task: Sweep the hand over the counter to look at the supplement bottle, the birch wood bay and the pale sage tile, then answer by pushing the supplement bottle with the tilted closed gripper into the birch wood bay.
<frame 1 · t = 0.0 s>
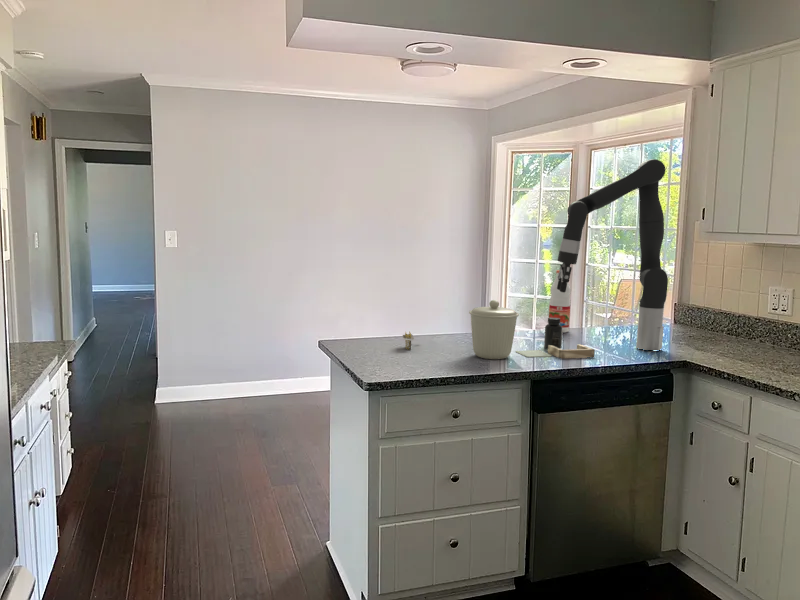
hand: (560, 290, 269), 22 cm above the worktop, tool pointing down, fingers open, 8 cm apart
yellow figurine: (407, 349, 257), on the worktop
fruit juice: (558, 331, 306), on the worktop
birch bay: (568, 354, 254), on the worktop
supplement bottle: (552, 348, 266), on the worktop
canister: (491, 357, 245), on the worktop
sage tile: (533, 354, 252), on the worktop
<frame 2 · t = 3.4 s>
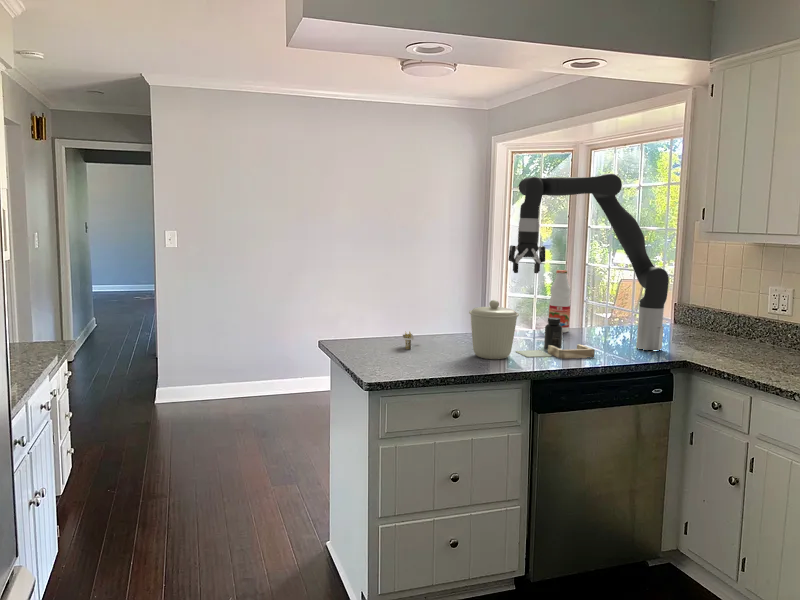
hand: (526, 273, 254), 30 cm above the worktop, tool pointing down, fingers open, 8 cm apart
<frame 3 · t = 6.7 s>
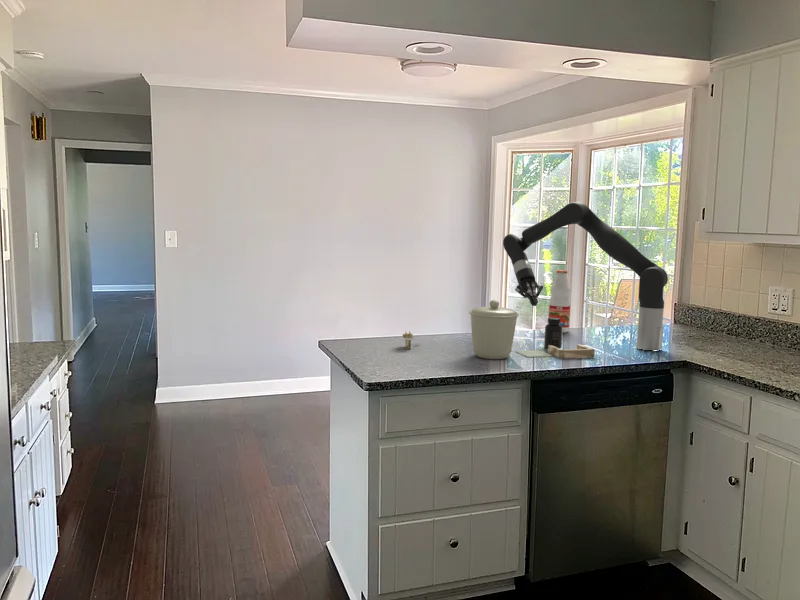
hand: (535, 304, 279), 15 cm above the worktop, tool tilted 45°, fingers closed
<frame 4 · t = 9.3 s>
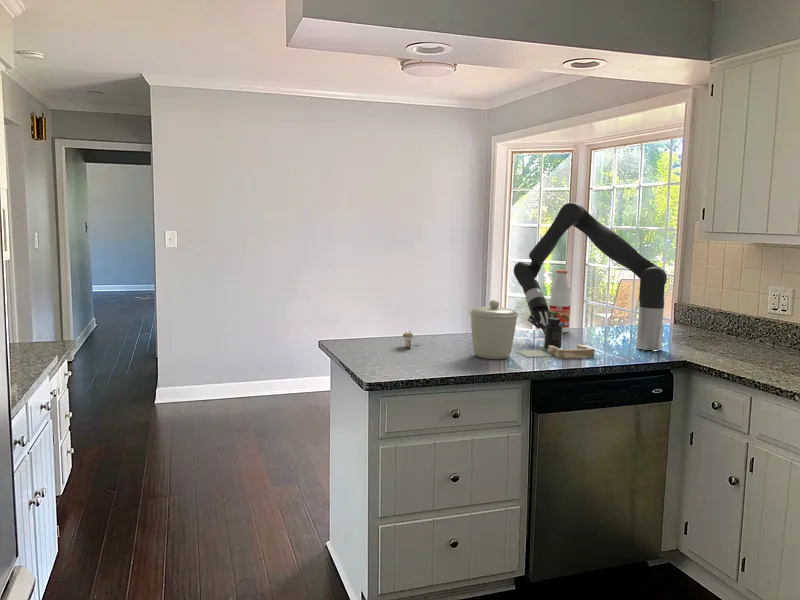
hand: (548, 335, 269), 4 cm above the worktop, tool tilted 45°, fingers closed
supplement bottle: (552, 348, 266), on the worktop, touching gripper
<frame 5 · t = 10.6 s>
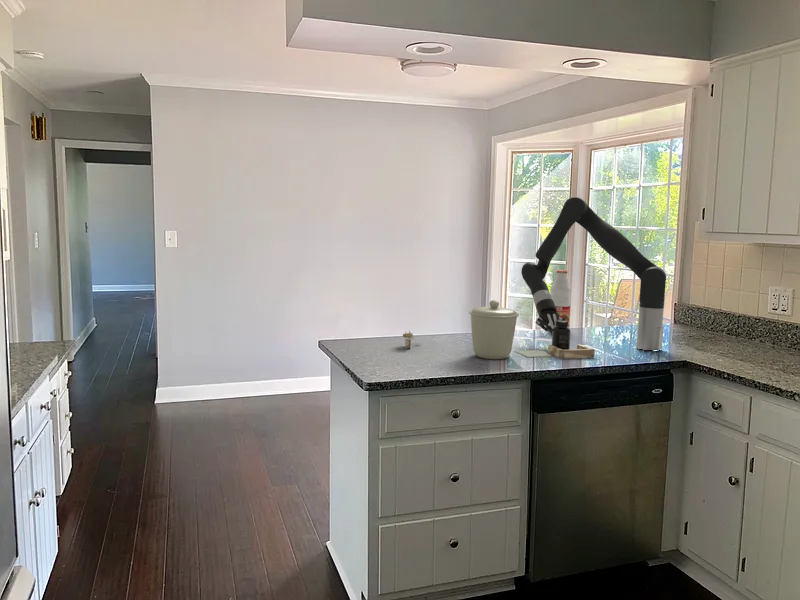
hand: (557, 338, 262), 4 cm above the worktop, tool tilted 45°, fingers closed
supplement bottle: (560, 351, 259), on the worktop, touching gripper
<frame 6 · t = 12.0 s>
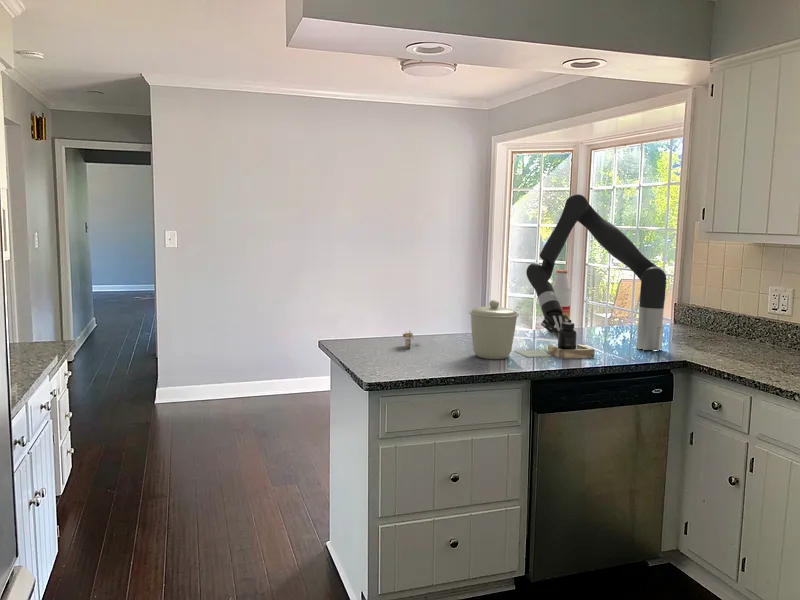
hand: (563, 341, 257), 4 cm above the worktop, tool tilted 45°, fingers closed
supplement bottle: (566, 354, 254), on the worktop, touching gripper
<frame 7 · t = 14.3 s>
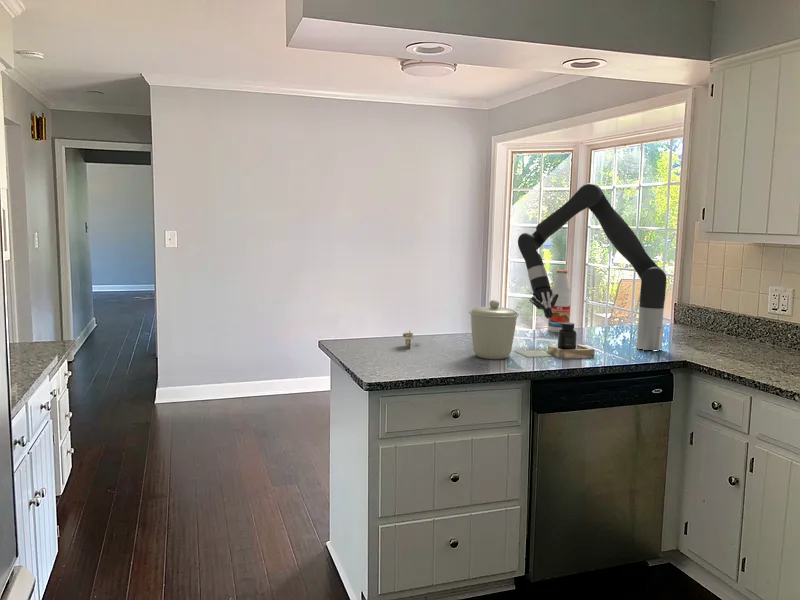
hand: (549, 317, 272), 11 cm above the worktop, tool tilted 25°, fingers closed
supplement bottle: (566, 354, 254), on the worktop
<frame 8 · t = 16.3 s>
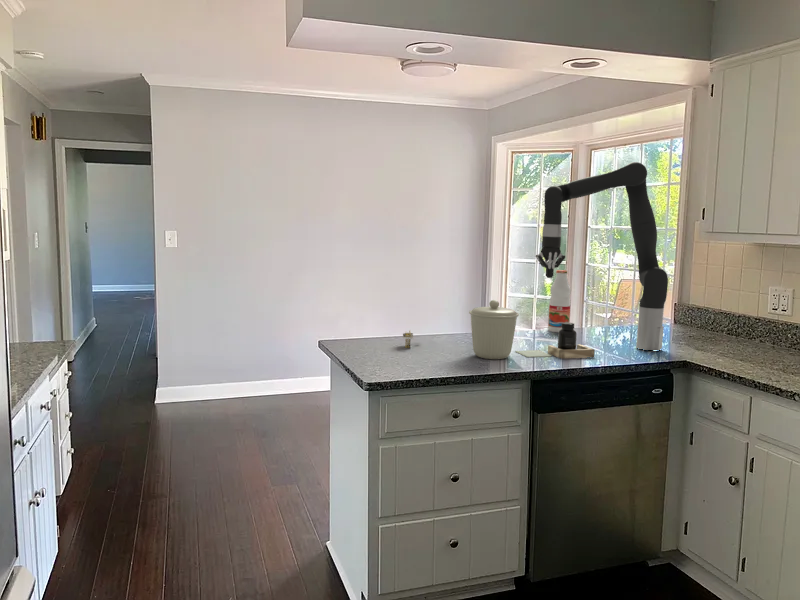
hand: (549, 277, 274), 27 cm above the worktop, tool pointing down, fingers closed
at the end: supplement bottle 0.7 cm from the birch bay (horizontally); supplement bottle tilted 0°; supplement bottle touching worktop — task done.
